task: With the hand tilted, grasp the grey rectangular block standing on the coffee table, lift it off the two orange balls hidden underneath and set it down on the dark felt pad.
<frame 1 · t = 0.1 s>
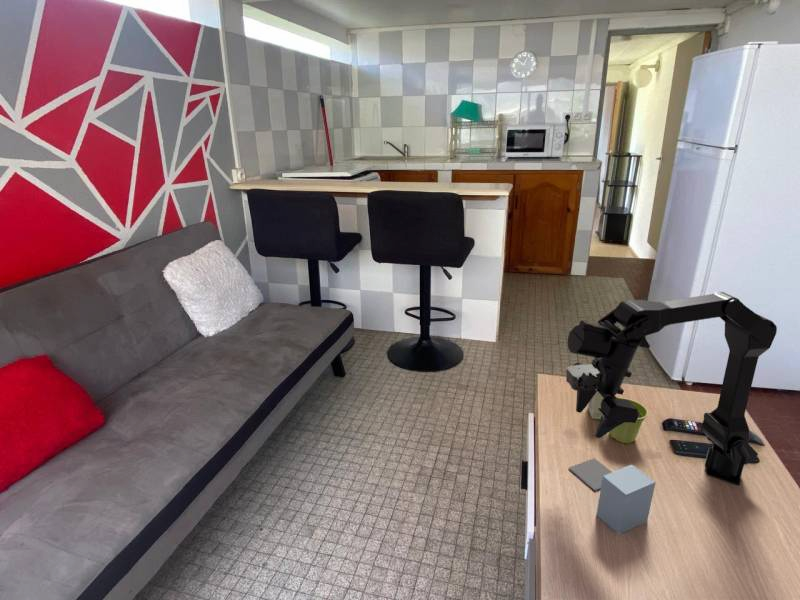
hand: (587, 424, 100), 15 cm above the table, tool pointing down, fingers open, 9 cm apart
skincare box: (597, 414, 130), on the table
pad: (594, 474, 107), on the table
grey rectangular block: (621, 518, 95), on the table
plant pot: (622, 437, 121), on the table
ball b: (627, 515, 96), on the table
ball a: (615, 521, 95), on the table
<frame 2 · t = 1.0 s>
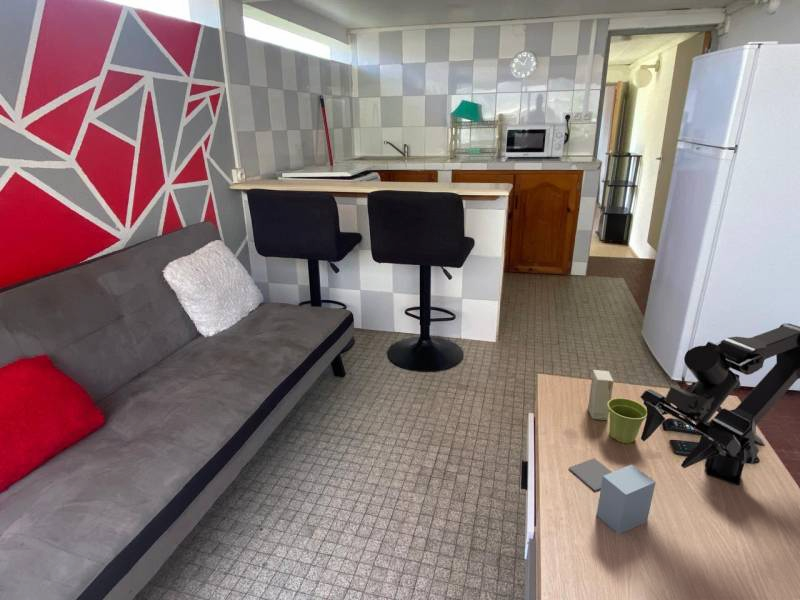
hand: (661, 453, 94), 13 cm above the table, tool tilted 45°, fingers open, 9 cm apart
nothing on the table moved.
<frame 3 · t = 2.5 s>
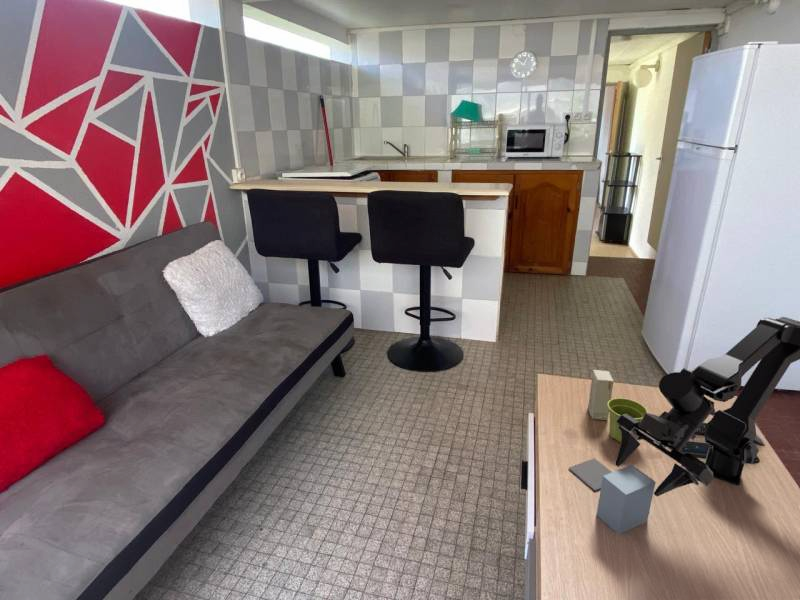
hand: (635, 479, 93), 9 cm above the table, tool tilted 45°, fingers open, 9 cm apart
nothing on the table moved.
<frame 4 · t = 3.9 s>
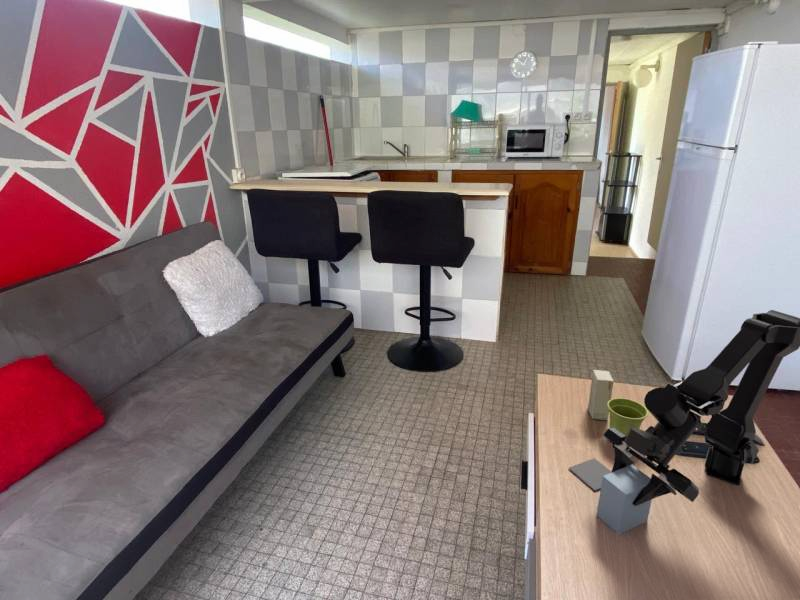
hand: (621, 494, 93), 7 cm above the table, tool tilted 45°, fingers closed on grey rectangular block, 6 cm apart
grey rectangular block: (621, 518, 95), on the table, touching gripper
everything else where it was.
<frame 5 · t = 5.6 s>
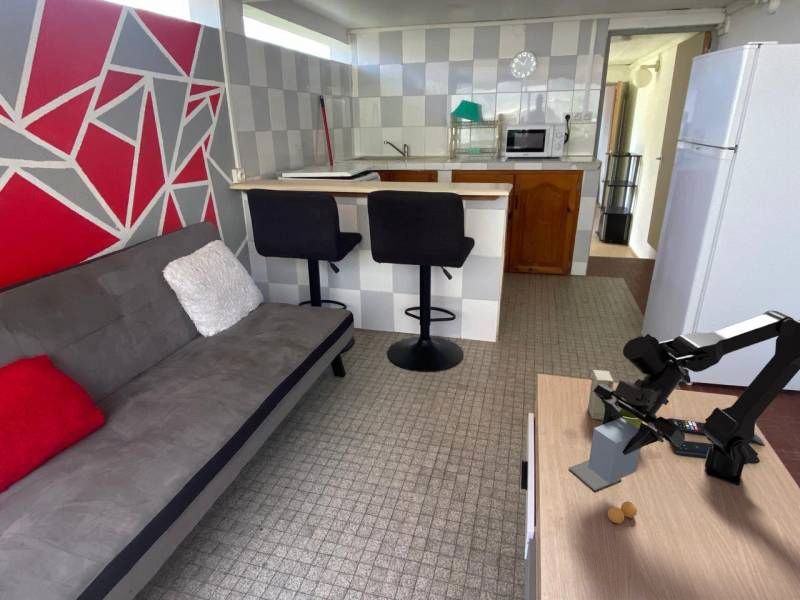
hand: (611, 445, 96), 13 cm above the table, tool tilted 45°, fingers closed on grey rectangular block, 6 cm apart
grey rectangular block: (611, 469, 99), point 7 cm above the table, touching gripper
everything else where it was.
when the fingers open (9 cm above the table, at t = 7.3 s): grey rectangular block drops 2 cm, resting on pad.
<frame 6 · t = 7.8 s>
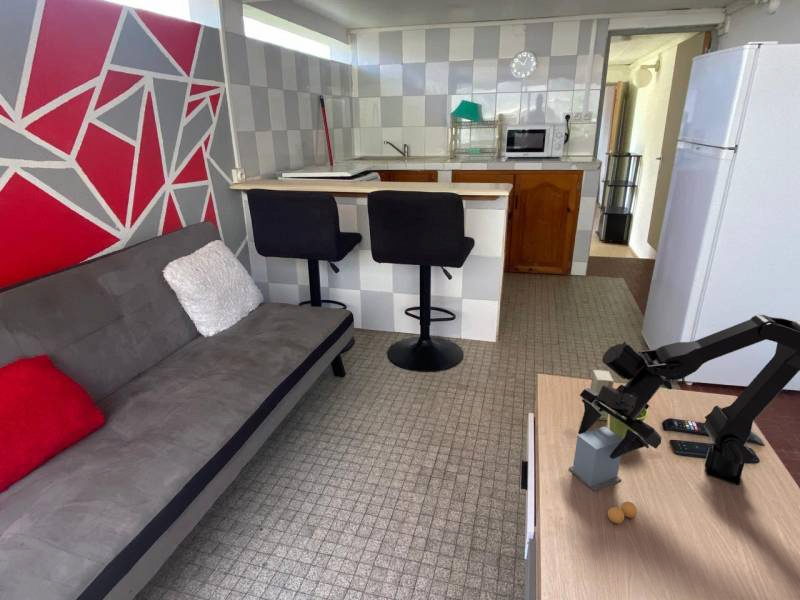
hand: (594, 445, 104), 9 cm above the table, tool tilted 45°, fingers open, 9 cm apart
grey rectangular block: (594, 473, 107), resting on pad
everything else where it was.
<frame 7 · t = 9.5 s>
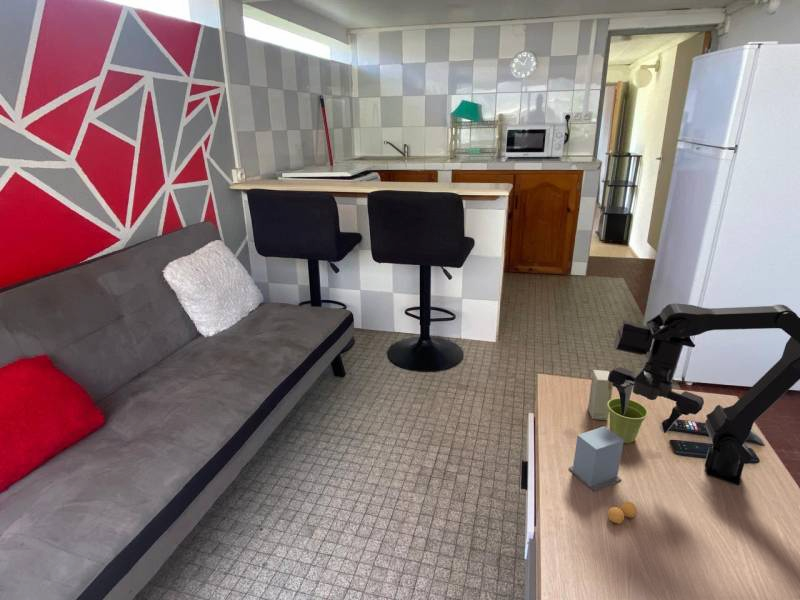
hand: (643, 423, 107), 12 cm above the table, tool pointing down, fingers open, 9 cm apart
nothing on the table moved.
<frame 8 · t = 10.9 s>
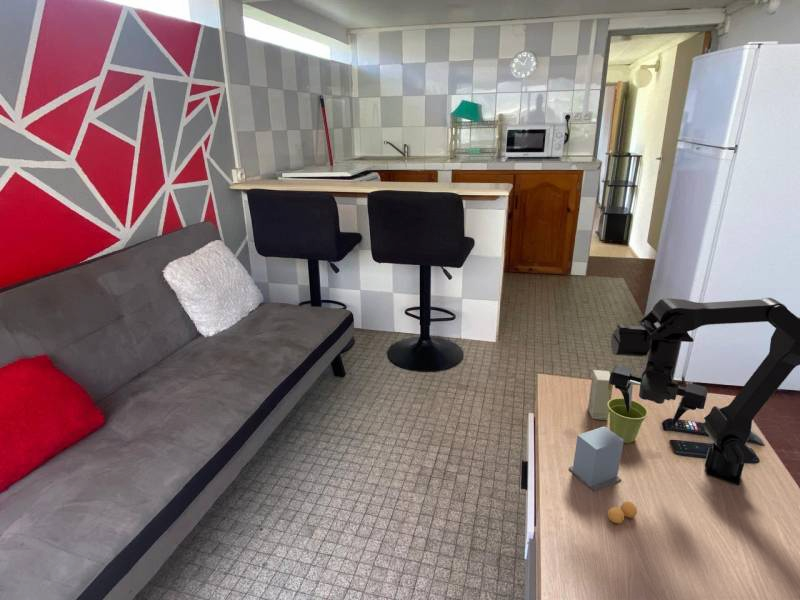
hand: (650, 418, 106), 13 cm above the table, tool pointing down, fingers open, 9 cm apart
nothing on the table moved.
at the end: grey rectangular block inside the target area on the pad (0.1 cm from its centre), point 0.4 cm above the pad's base; grey rectangular block tilted 0°; grey rectangular block moved 12.7 cm from its start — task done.
